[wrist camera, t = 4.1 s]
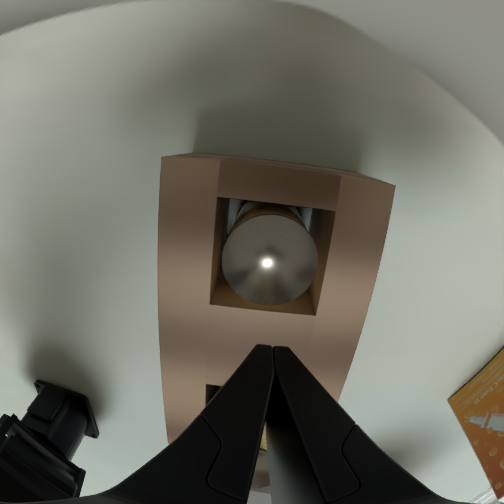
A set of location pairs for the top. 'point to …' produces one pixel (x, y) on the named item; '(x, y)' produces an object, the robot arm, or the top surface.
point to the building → (486, 498)
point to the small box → (485, 420)
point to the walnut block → (239, 309)
